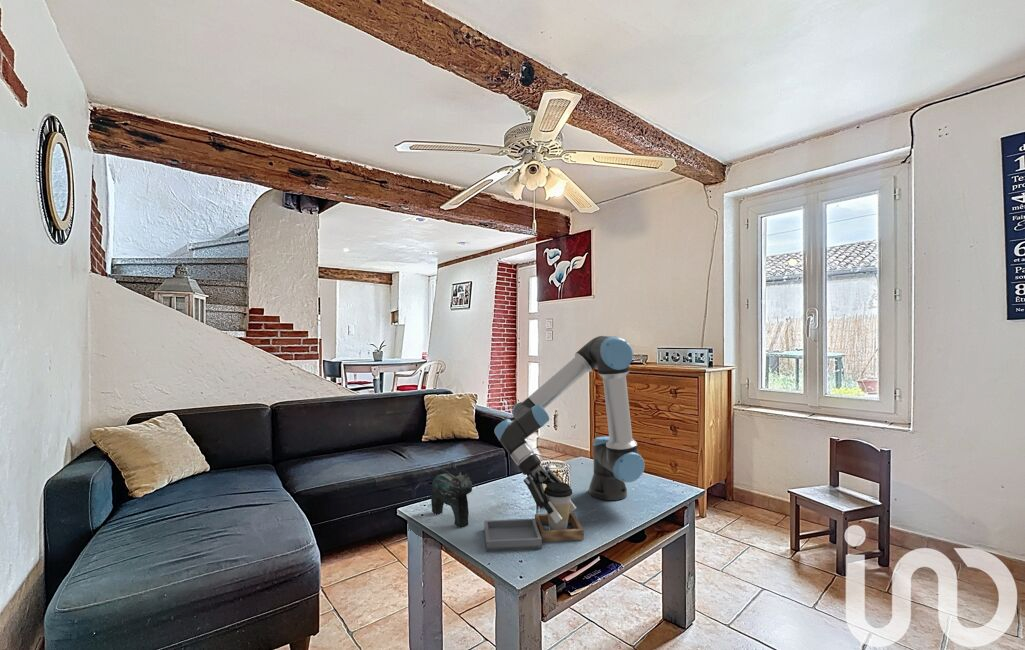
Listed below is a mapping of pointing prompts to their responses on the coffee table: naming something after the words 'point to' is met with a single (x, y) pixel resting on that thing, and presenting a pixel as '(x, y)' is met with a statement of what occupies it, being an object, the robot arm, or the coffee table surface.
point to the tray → (512, 535)
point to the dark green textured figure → (452, 495)
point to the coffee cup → (559, 503)
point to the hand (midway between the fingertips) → (566, 515)
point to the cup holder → (559, 534)
